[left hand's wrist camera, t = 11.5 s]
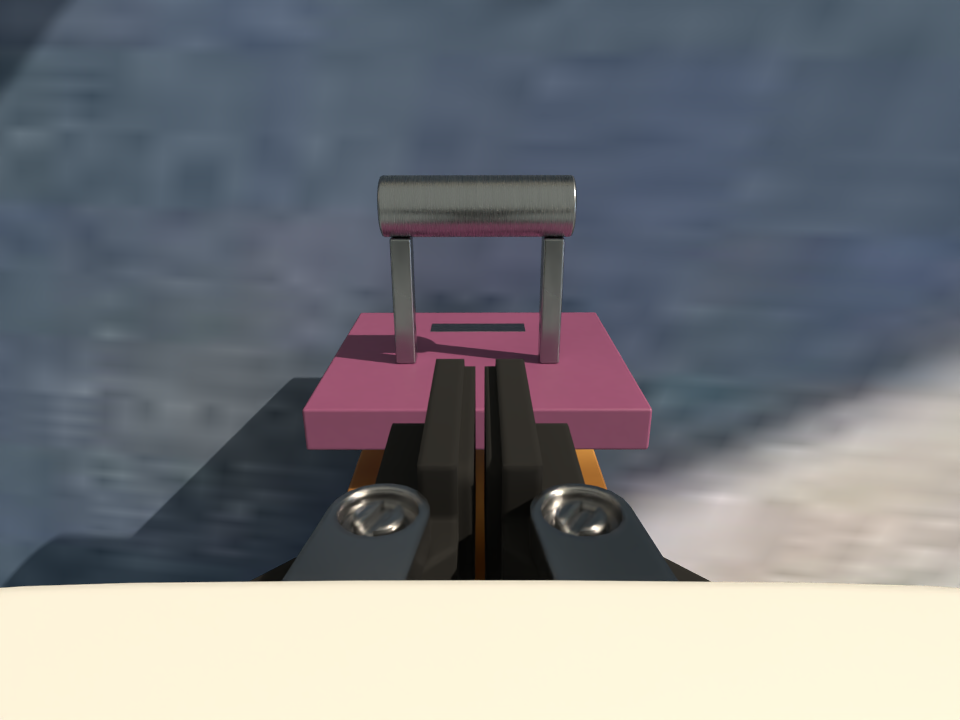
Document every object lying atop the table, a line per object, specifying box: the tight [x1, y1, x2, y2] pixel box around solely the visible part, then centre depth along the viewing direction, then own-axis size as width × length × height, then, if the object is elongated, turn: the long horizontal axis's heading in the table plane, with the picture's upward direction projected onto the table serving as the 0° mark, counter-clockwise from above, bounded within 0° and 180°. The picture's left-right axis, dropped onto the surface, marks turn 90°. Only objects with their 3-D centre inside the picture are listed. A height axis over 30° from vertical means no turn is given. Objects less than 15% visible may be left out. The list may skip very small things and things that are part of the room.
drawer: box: [302, 175, 652, 580], centre depth 22 cm, size 23×9×8 cm, turn 0°
